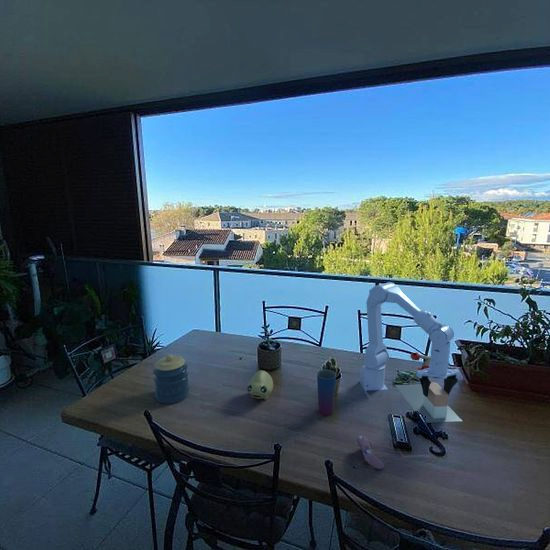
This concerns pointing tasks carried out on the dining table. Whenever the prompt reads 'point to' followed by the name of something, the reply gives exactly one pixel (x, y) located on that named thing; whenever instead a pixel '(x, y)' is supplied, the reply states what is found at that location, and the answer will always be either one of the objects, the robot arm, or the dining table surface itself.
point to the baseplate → (415, 400)
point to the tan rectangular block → (437, 395)
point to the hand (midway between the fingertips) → (435, 394)
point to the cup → (326, 391)
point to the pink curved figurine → (368, 452)
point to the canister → (171, 379)
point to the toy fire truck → (417, 356)
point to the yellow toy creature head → (260, 385)
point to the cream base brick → (434, 409)
